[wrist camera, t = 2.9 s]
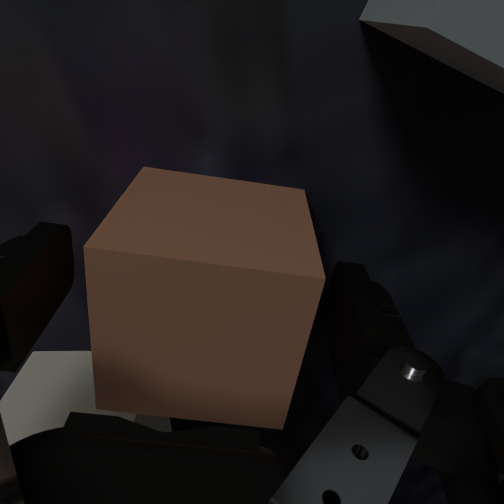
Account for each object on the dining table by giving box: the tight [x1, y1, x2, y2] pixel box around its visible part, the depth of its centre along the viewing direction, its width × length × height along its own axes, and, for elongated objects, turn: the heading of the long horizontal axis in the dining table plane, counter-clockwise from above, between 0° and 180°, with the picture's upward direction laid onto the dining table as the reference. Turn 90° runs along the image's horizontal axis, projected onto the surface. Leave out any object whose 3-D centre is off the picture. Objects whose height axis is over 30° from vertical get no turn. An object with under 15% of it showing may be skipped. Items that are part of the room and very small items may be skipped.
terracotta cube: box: [84, 167, 326, 430], centre depth 12 cm, size 5×5×5 cm
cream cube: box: [0, 351, 172, 446], centre depth 16 cm, size 5×5×5 cm
